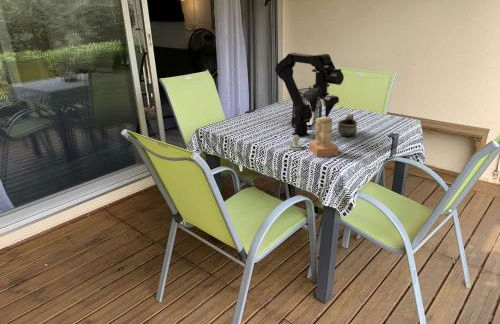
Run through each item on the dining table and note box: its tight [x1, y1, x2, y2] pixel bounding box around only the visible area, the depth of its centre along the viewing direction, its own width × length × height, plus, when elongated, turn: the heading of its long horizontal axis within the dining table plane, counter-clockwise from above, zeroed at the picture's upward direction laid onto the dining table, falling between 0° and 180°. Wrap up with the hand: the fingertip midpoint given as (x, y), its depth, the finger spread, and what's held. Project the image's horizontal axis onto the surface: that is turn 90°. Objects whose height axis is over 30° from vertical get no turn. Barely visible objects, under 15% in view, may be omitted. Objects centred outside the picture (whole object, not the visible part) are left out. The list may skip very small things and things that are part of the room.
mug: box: [337, 113, 358, 138], centre depth 187 cm, size 10×12×10 cm
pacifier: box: [288, 135, 305, 151], centre depth 172 cm, size 7×6×6 cm
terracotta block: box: [308, 140, 339, 158], centre depth 167 cm, size 10×10×4 cm
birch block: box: [314, 116, 333, 147], centre depth 164 cm, size 5×5×12 cm
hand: (320, 114), depth 177 cm, fingers open, 9 cm apart
